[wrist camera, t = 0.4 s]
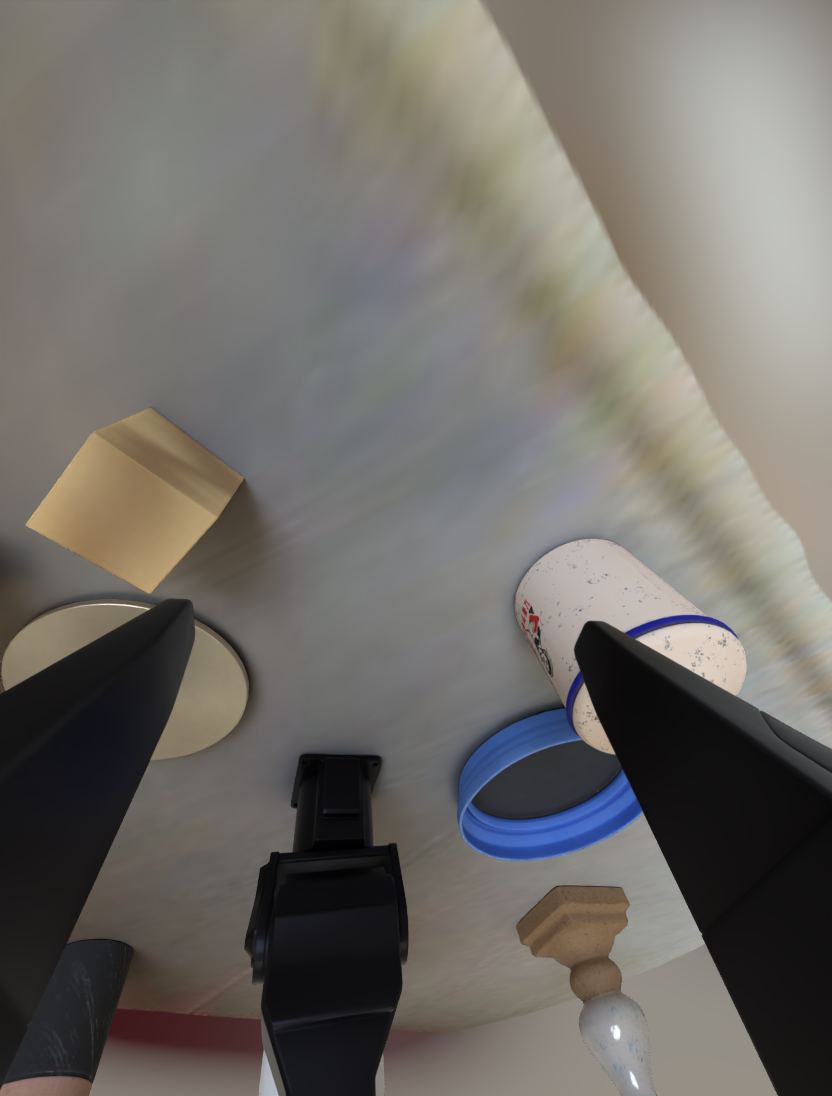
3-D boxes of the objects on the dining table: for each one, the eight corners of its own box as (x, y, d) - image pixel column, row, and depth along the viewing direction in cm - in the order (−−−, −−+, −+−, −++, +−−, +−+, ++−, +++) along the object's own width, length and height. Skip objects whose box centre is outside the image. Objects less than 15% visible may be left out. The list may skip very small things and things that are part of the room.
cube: (244, 478, 21) (218, 518, 17) (188, 541, 22) (149, 595, 18) (151, 406, 19) (92, 431, 14) (94, 481, 20) (24, 525, 16)
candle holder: (579, 926, 58) (706, 1260, 37) (514, 926, 55) (614, 1293, 34) (623, 887, 54) (796, 1241, 33) (555, 885, 50) (700, 1278, 30)
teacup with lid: (483, 592, 27) (564, 755, 17) (602, 504, 25) (776, 630, 15) (567, 680, 32) (666, 844, 22) (670, 614, 30) (830, 760, 20)
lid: (244, 749, 31) (223, 838, 25) (33, 743, 27) (-41, 843, 22) (258, 606, 25) (234, 683, 20) (-8, 578, 22) (-123, 660, 16)
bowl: (482, 695, 32) (496, 735, 29) (675, 701, 36) (705, 737, 33) (431, 826, 40) (438, 868, 37) (592, 819, 44) (611, 857, 41)
